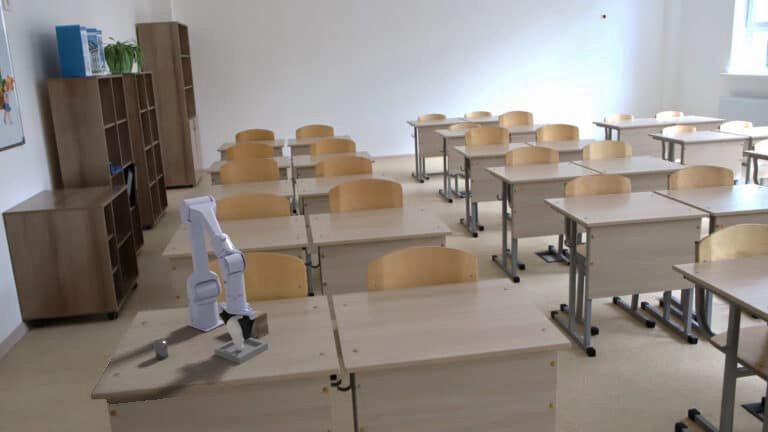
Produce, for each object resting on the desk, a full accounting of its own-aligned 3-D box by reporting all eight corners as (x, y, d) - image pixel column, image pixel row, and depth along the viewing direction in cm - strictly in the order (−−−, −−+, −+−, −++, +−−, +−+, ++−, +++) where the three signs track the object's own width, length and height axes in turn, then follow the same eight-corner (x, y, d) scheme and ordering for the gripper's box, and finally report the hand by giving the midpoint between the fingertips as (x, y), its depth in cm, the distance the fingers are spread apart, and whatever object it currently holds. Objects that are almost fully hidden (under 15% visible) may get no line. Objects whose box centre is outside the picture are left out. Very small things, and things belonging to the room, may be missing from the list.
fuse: (153, 358, 187) (151, 342, 186) (163, 353, 190) (161, 337, 189) (160, 361, 185) (158, 345, 184) (171, 356, 188) (168, 340, 187)
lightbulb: (248, 354, 185) (245, 320, 182) (227, 356, 185) (223, 321, 182) (251, 345, 191) (248, 311, 188) (230, 346, 191) (227, 312, 188)
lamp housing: (232, 330, 203) (229, 310, 201) (243, 324, 207) (241, 305, 205) (257, 339, 196) (255, 318, 195) (269, 333, 200) (267, 312, 198)
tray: (215, 354, 188) (214, 348, 187) (243, 340, 196) (242, 334, 196) (240, 363, 181) (239, 358, 181) (268, 348, 190) (267, 343, 189)
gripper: (262, 293, 183) (267, 336, 186) (229, 284, 191) (234, 325, 195) (244, 301, 177) (249, 345, 181) (210, 292, 186) (215, 334, 189)
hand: (240, 336), depth 187 cm, fingers closed on lightbulb, 6 cm apart
